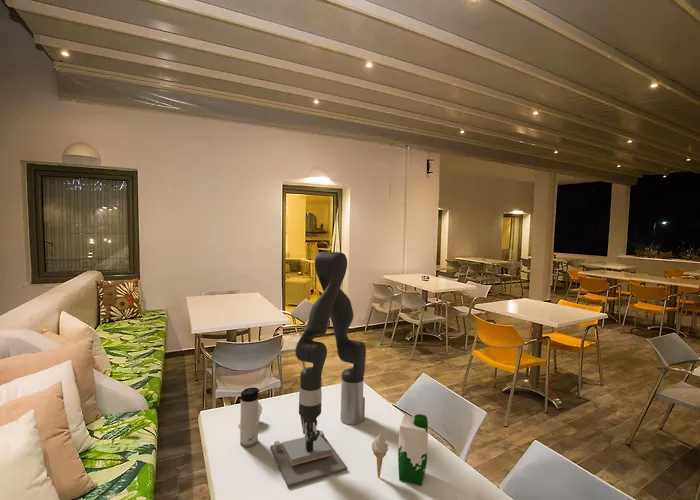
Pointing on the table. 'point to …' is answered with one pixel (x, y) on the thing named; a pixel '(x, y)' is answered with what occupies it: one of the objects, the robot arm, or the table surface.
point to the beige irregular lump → (258, 413)
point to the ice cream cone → (379, 450)
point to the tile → (299, 454)
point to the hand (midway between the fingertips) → (309, 449)
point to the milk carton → (413, 448)
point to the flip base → (307, 466)
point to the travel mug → (249, 417)
